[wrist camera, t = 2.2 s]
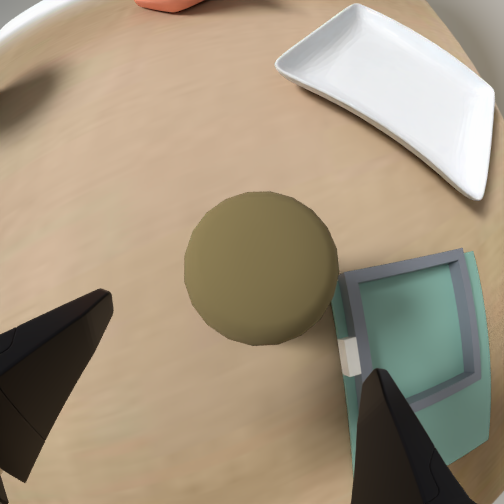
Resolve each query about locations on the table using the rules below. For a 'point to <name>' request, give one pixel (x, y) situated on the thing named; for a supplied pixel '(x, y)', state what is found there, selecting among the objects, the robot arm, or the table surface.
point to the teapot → (167, 4)
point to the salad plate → (401, 91)
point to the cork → (261, 268)
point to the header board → (420, 344)
